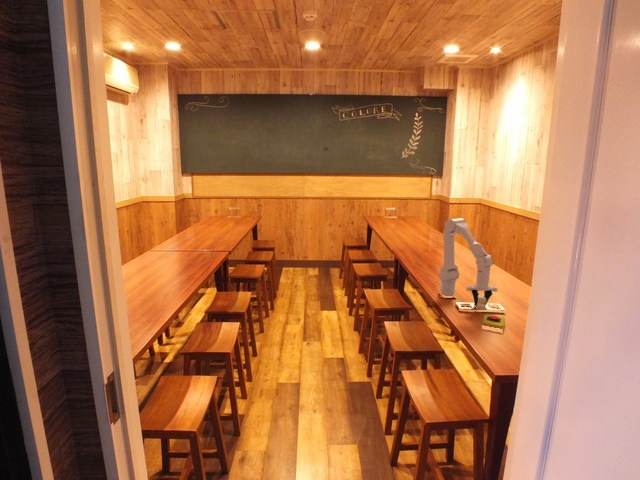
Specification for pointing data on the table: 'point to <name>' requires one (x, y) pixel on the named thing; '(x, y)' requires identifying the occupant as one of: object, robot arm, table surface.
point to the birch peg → (481, 302)
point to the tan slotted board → (478, 308)
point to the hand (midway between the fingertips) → (480, 304)
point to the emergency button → (493, 321)
